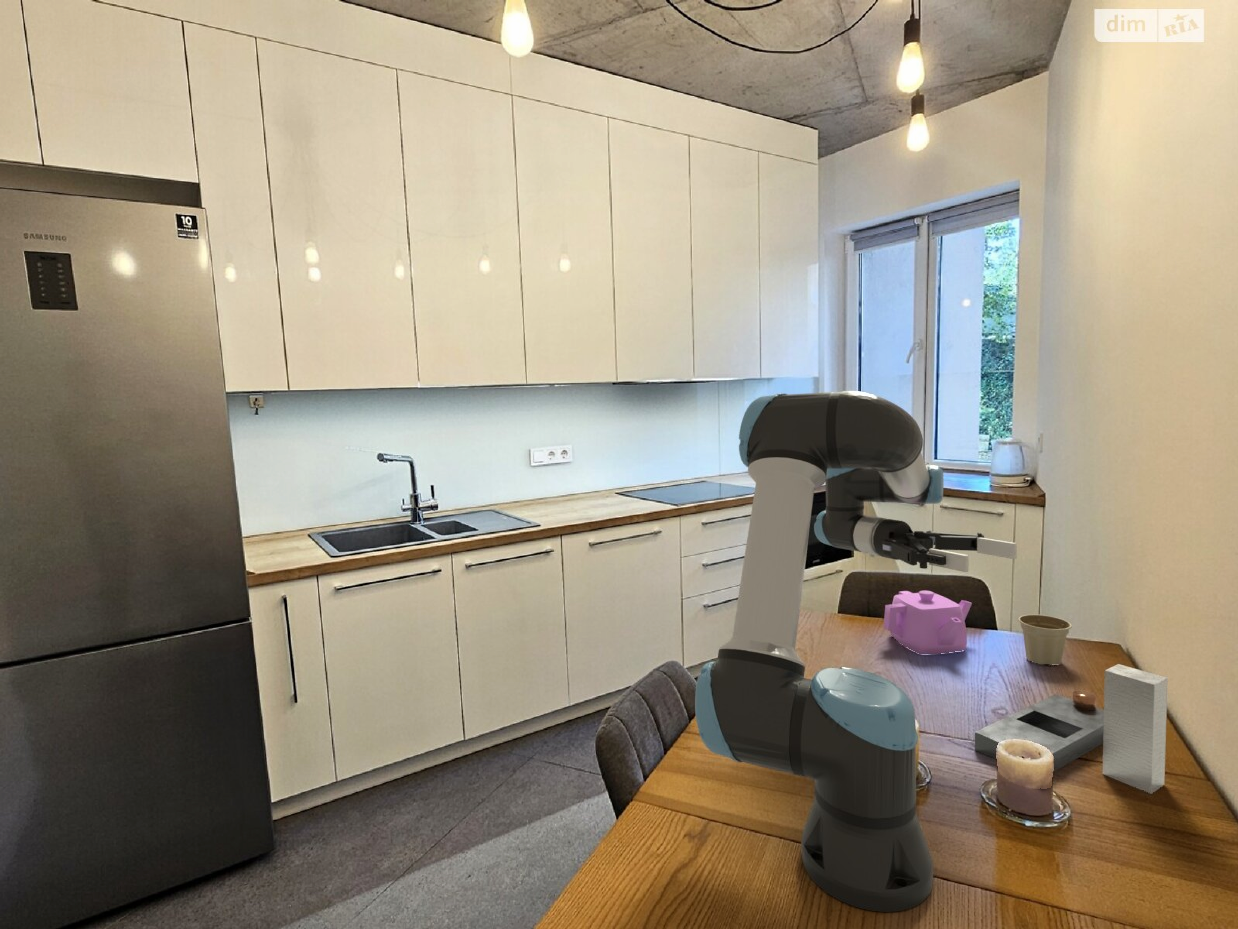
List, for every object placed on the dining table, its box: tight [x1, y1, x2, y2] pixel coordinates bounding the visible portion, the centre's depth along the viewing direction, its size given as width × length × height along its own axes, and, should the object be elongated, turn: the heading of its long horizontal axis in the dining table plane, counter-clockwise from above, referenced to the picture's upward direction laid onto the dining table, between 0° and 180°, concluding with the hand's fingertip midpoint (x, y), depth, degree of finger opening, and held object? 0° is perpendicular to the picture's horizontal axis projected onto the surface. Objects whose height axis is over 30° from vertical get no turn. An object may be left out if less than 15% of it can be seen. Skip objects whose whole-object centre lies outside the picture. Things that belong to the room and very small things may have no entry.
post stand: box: [974, 690, 1104, 772], centre depth 105 cm, size 25×10×5 cm, turn 119°
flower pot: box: [1017, 614, 1073, 666], centre depth 136 cm, size 9×9×9 cm
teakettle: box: [883, 590, 973, 654], centre depth 148 cm, size 17×17×12 cm
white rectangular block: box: [1102, 663, 1169, 795], centre depth 94 cm, size 4×6×16 cm, turn 29°
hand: (992, 557), depth 107 cm, fingers open, 13 cm apart
